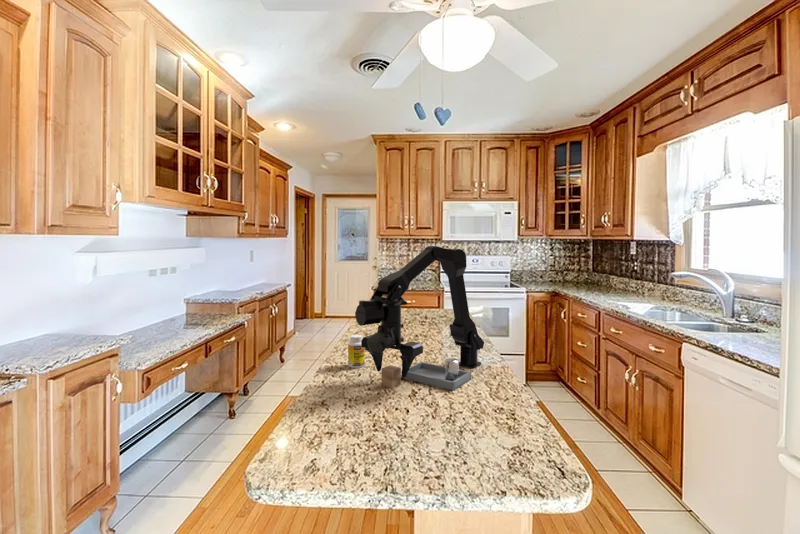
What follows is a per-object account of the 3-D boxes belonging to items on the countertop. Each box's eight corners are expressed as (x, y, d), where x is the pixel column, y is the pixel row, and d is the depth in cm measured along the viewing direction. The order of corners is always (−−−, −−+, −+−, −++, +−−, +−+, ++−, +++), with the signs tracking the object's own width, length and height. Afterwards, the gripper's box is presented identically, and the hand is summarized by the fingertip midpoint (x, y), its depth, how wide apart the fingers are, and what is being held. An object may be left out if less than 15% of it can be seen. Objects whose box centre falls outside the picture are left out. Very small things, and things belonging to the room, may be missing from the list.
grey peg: (449, 377, 121) (449, 357, 120) (461, 379, 118) (461, 359, 118) (442, 380, 117) (442, 360, 117) (454, 383, 115) (454, 363, 115)
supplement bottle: (352, 369, 130) (352, 338, 129) (345, 365, 134) (345, 335, 134) (367, 366, 133) (367, 336, 132) (360, 362, 138) (359, 333, 137)
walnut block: (389, 381, 119) (389, 365, 119) (400, 384, 117) (400, 367, 116) (381, 385, 116) (381, 368, 115) (392, 388, 113) (392, 371, 113)
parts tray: (421, 368, 131) (421, 361, 131) (471, 379, 120) (471, 372, 120) (401, 377, 122) (401, 370, 122) (453, 390, 111) (453, 382, 111)
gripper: (348, 322, 114) (348, 375, 115) (400, 330, 103) (400, 389, 104) (373, 316, 123) (373, 365, 124) (424, 323, 112) (424, 377, 113)
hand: (391, 374), depth 116 cm, fingers open, 9 cm apart
